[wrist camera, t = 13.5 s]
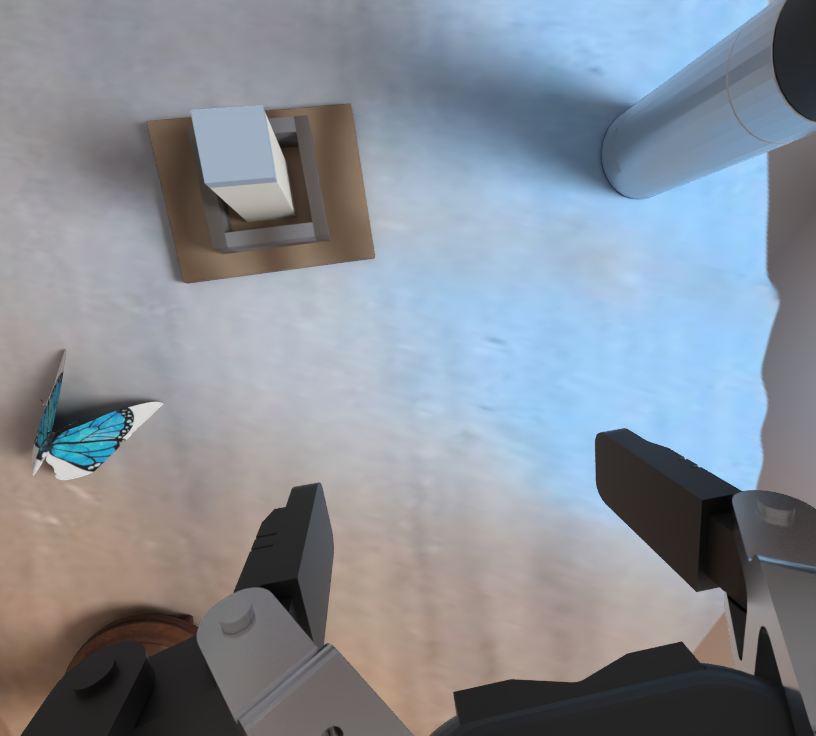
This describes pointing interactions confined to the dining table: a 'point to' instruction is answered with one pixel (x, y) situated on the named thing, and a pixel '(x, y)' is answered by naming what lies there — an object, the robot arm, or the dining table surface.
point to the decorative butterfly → (84, 436)
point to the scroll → (139, 634)
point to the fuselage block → (244, 161)
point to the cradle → (279, 238)
